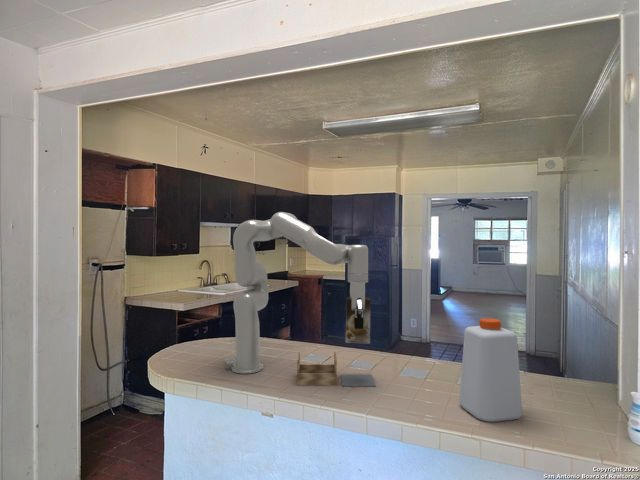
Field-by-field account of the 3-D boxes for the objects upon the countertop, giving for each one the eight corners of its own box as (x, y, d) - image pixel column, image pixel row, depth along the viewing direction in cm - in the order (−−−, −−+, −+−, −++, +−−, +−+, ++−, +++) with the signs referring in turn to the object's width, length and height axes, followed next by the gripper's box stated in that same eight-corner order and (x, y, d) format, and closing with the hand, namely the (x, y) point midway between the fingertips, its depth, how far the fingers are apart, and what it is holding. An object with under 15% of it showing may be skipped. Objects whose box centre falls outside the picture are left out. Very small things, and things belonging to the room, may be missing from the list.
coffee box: (345, 343, 146) (345, 299, 146) (345, 338, 153) (345, 296, 153) (370, 343, 145) (370, 299, 145) (370, 339, 152) (370, 296, 152)
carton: (297, 385, 144) (297, 360, 144) (298, 374, 156) (298, 351, 156) (336, 385, 145) (336, 360, 144) (335, 374, 156) (335, 351, 156)
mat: (342, 386, 143) (342, 385, 143) (340, 375, 155) (340, 374, 155) (375, 386, 143) (375, 385, 143) (371, 375, 155) (371, 374, 155)
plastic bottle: (528, 420, 117) (529, 324, 117) (482, 424, 114) (483, 326, 114) (495, 399, 132) (496, 314, 132) (453, 403, 129) (454, 316, 129)
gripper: (346, 275, 158) (346, 321, 158) (349, 280, 140) (349, 331, 140) (365, 275, 158) (365, 321, 158) (371, 280, 140) (371, 331, 140)
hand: (357, 325), depth 149 cm, fingers closed on coffee box, 6 cm apart
